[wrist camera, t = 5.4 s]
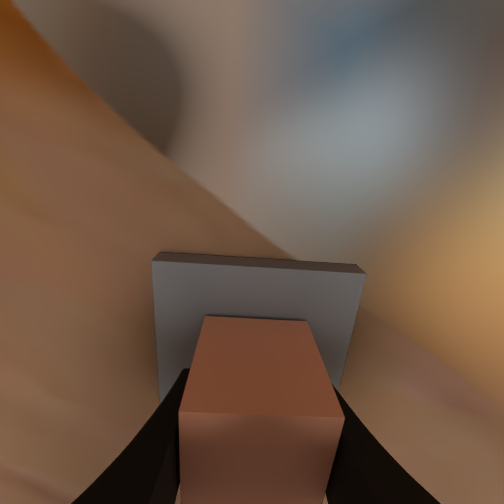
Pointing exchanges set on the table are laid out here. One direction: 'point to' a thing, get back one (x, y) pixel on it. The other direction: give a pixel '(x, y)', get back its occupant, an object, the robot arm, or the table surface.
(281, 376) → the clay cube
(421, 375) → the table surface
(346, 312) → the slate tile
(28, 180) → the table surface
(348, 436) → the robot arm
